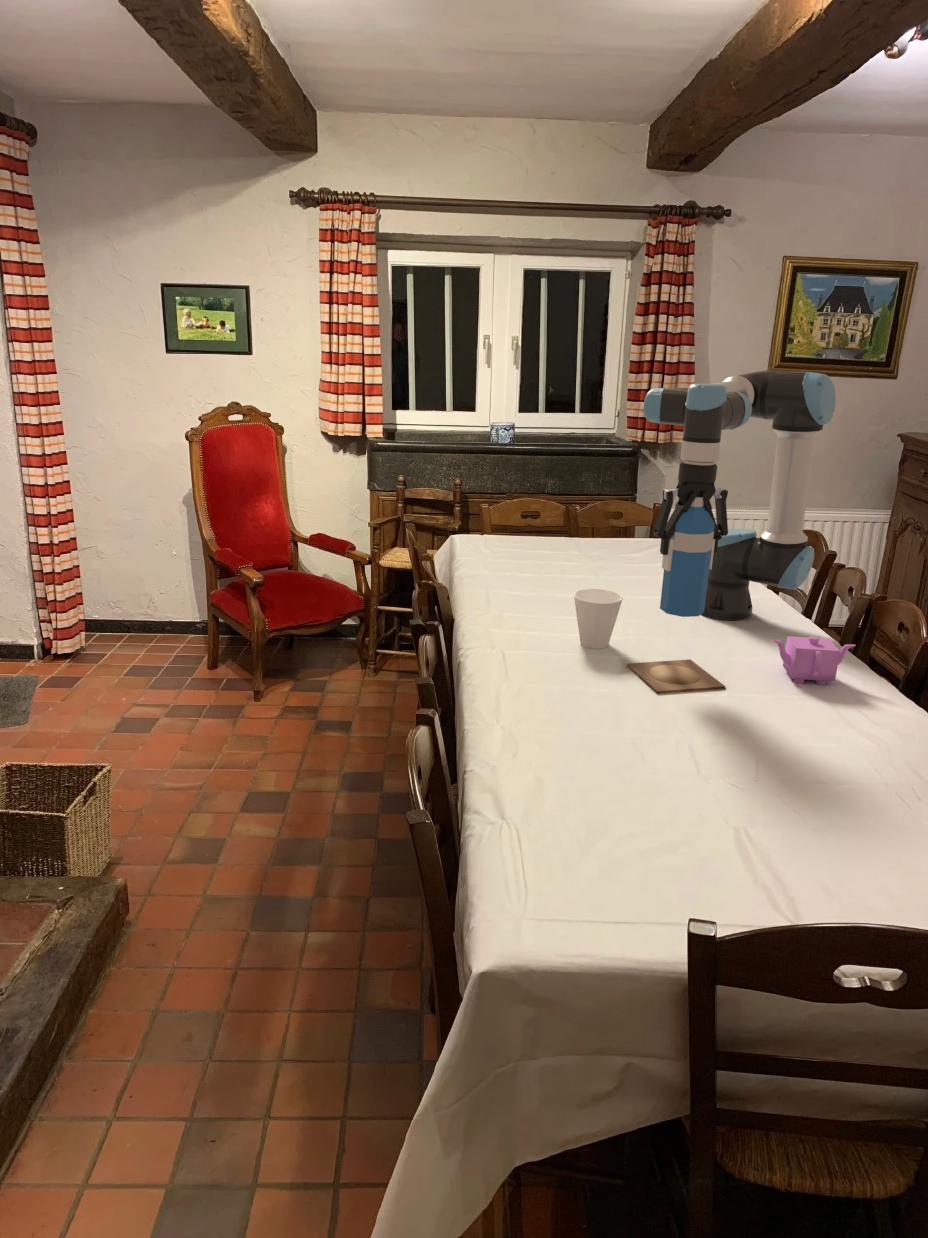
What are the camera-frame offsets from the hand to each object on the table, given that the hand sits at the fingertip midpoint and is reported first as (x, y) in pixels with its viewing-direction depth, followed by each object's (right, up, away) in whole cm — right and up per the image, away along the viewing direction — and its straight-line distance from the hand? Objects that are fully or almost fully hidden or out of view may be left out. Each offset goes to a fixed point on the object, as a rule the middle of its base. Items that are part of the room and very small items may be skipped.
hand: (686, 568), depth 179 cm
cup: (-15, -17, +27) cm, 36 cm away
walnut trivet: (-1, -24, +8) cm, 25 cm away
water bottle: (0, -9, +3) cm, 10 cm away
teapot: (+30, -24, +10) cm, 40 cm away
